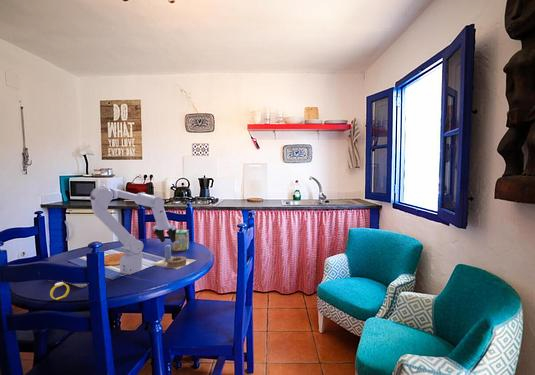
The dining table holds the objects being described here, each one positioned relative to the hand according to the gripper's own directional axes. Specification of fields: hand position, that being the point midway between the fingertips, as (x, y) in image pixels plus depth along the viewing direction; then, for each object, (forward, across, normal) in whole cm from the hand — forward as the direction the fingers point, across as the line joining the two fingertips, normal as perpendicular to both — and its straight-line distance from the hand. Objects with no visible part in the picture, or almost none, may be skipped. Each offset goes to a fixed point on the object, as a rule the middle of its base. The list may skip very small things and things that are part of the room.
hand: (168, 241), depth 145 cm
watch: (-2, +8, +50) cm, 51 cm away
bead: (+9, -8, +6) cm, 14 cm away
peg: (+9, 0, +4) cm, 10 cm away
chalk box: (+14, +10, -16) cm, 23 cm away
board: (+10, -5, +5) cm, 12 cm away
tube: (0, +21, +39) cm, 44 cm away
